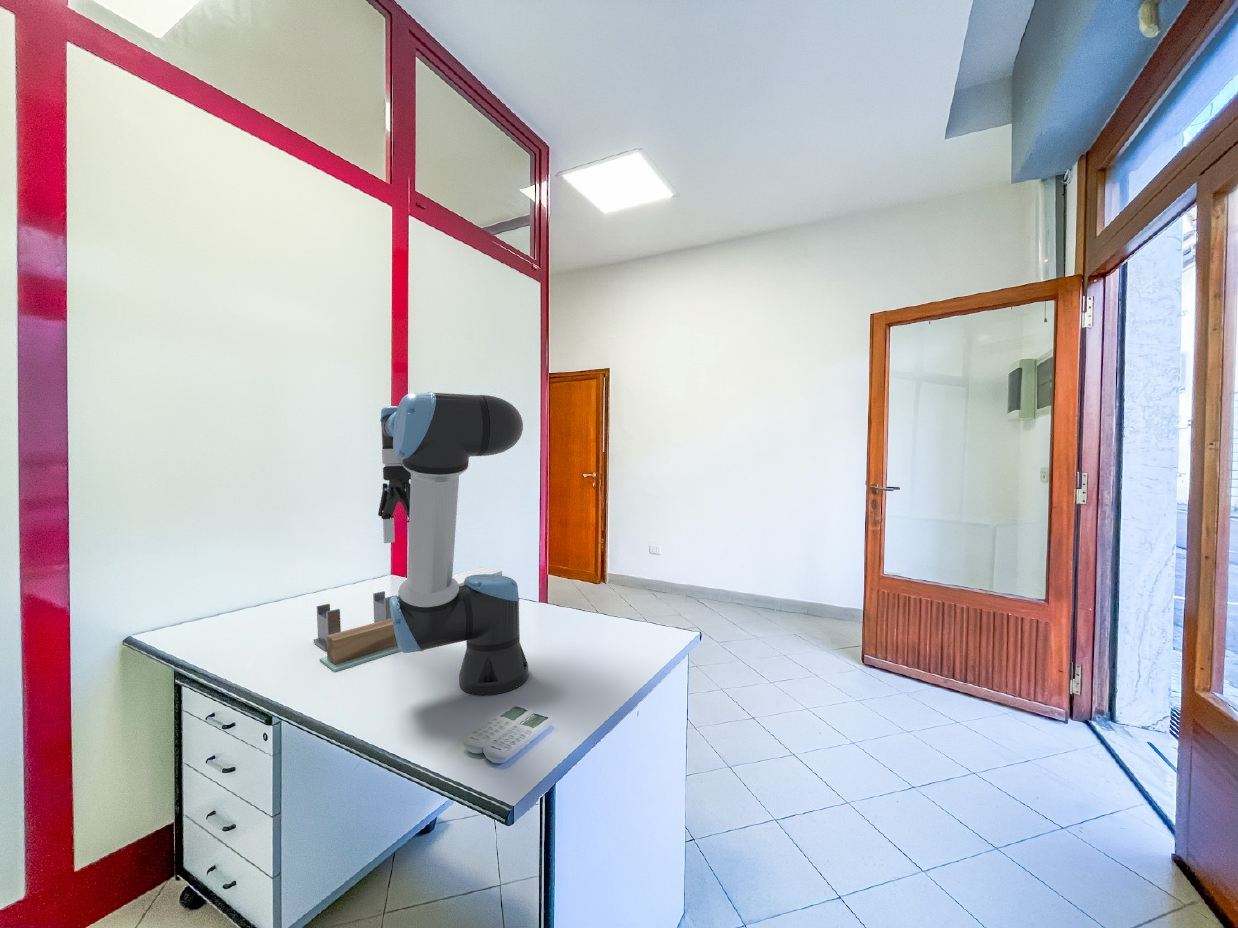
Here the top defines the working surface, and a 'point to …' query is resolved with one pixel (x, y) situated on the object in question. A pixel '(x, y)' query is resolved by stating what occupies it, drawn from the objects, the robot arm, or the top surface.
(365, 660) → the mat
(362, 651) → the rail
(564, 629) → the top surface
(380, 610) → the standards
